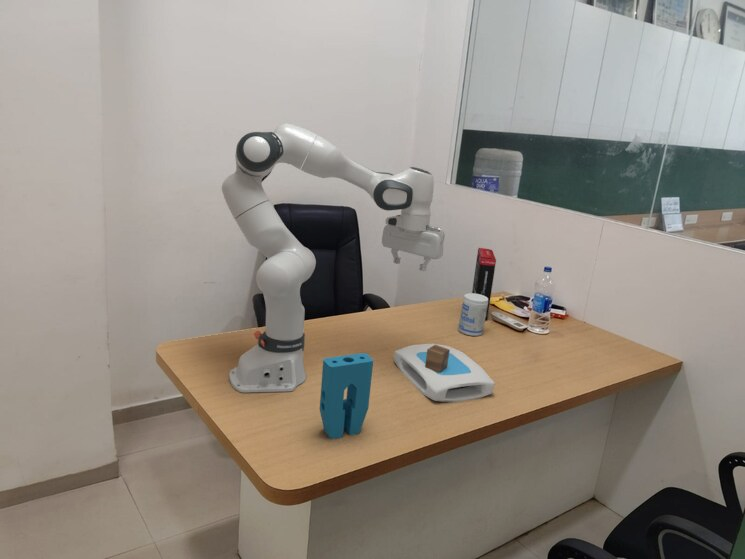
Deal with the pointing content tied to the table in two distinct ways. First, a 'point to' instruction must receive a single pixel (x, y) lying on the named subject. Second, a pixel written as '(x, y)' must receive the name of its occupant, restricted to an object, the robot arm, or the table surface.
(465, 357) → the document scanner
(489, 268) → the graphics card box
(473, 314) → the supplement tub
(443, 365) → the walnut block
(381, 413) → the table surface
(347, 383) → the block
